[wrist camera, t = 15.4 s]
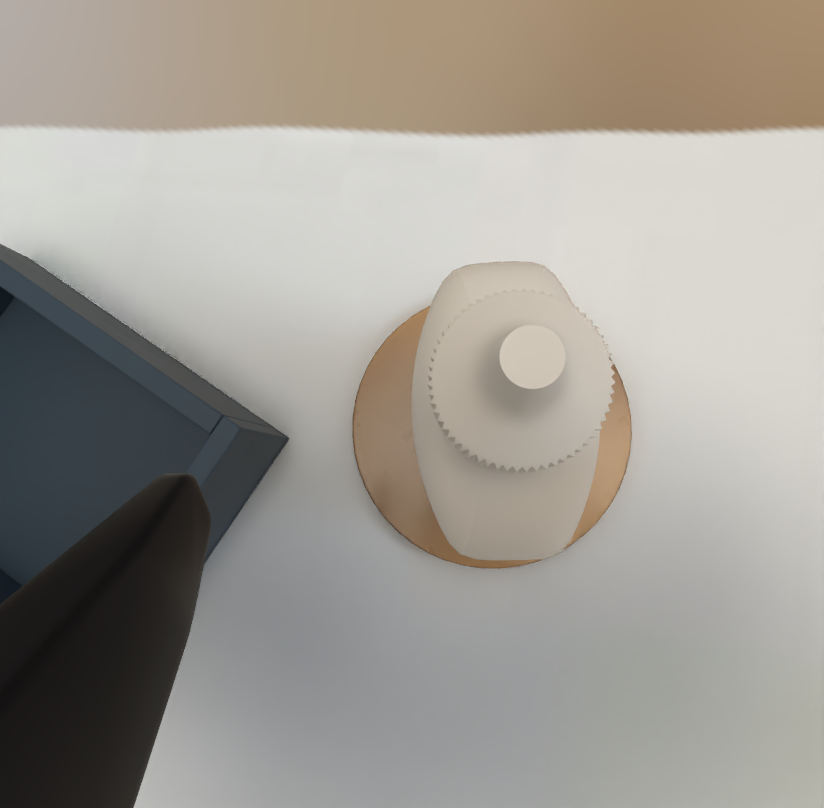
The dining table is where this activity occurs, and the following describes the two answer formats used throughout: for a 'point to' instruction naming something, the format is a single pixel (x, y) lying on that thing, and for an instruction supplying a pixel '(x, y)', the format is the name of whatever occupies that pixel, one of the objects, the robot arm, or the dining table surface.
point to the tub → (102, 423)
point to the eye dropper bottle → (508, 410)
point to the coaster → (397, 462)
